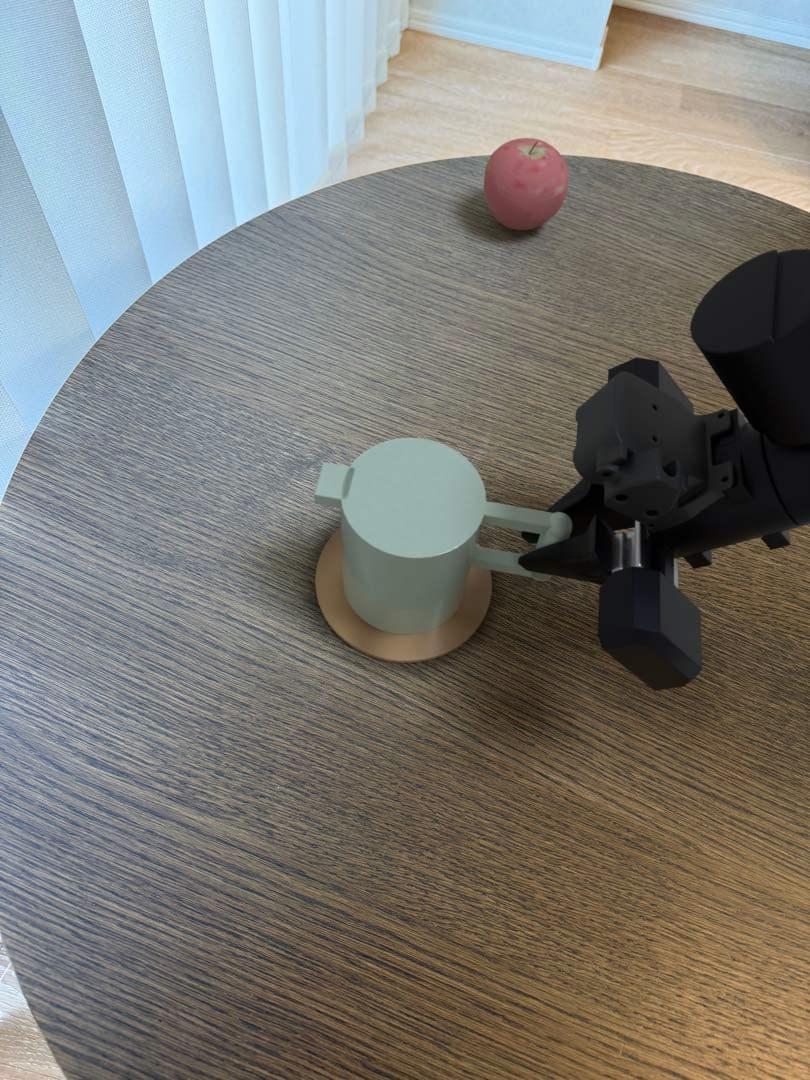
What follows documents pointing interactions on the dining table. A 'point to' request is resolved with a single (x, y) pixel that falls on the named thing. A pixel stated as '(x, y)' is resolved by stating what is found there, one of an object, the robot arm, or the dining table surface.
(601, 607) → the robot arm
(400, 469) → the jug
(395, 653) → the coaster
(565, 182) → the apple
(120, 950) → the dining table surface
